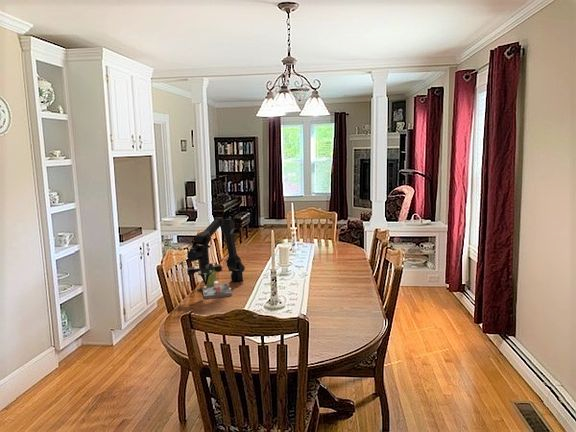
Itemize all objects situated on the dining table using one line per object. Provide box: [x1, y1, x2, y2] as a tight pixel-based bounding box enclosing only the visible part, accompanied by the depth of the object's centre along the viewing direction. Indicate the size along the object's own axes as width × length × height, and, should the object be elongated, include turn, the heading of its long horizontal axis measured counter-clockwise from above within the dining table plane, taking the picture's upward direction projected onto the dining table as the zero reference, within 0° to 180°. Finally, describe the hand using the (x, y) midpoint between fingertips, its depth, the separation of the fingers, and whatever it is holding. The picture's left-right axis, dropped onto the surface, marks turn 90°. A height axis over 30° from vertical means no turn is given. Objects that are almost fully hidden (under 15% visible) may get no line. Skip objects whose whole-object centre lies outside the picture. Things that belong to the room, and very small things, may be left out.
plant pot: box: [204, 270, 217, 286], centre depth 271 cm, size 9×9×9 cm
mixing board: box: [201, 283, 233, 300], centre depth 257 cm, size 15×18×3 cm
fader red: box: [215, 284, 221, 293], centre depth 253 cm, size 2×4×3 cm, turn 14°
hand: (205, 284), depth 251 cm, fingers closed
